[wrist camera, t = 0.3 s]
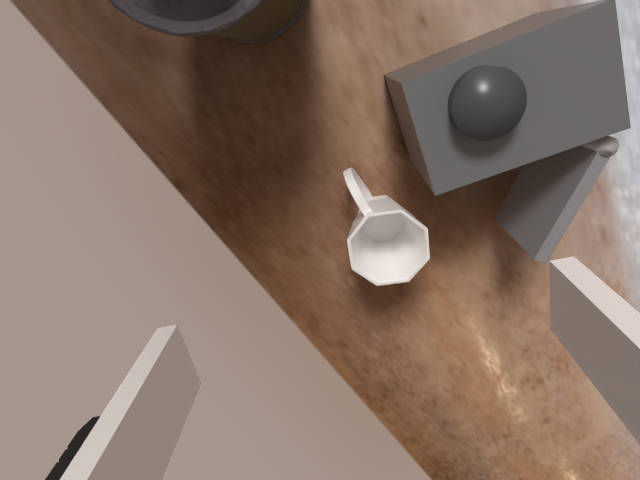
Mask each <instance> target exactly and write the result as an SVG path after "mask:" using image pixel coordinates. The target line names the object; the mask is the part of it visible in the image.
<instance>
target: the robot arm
mask: <svg viewBox="0 0 640 480" xmlns="http://www.w3.org/2000/svg"><path fill="white" fill-rule="evenodd" d="M550 313H551V330H552V332H553V333H554V334H555V335H556V337H557V338H558V339H559V341H560V342H561V343H562V344H563V346H564V347H565V348H566V350H567V351H568V352H569V353H570V355H571V356H572V357H573V359H574V360H575V361H576V363H577V364H578V365H579V366H580V368H581V369H582V370H583V372H584V373H585V374H586V375H587V377H588V378H589V379H590V381H591V382H592V383H593V384H594V386H595V387H596V388H597V390H598V391H599V392H600V393H601V395H602V396H603V397H604V399H605V400H606V401H607V402H608V404H609V405H610V406H611V408H612V409H613V410H614V411H615V413H616V414H617V415H618V417H619V418H620V419H621V421H622V422H623V423H624V424H625V426H626V427H627V428H628V430H629V431H630V432H631V433H632V435H633V436H634V437H635V439H636V440H637V441H638V442H639V444H640V313H639V312H638V311H636V310H635V309H634V308H633V307H632V306H631V305H629V304H628V303H627V302H626V301H625V300H624V299H622V298H621V297H620V296H619V295H618V294H617V293H615V292H614V291H613V290H612V289H611V288H610V287H608V286H607V285H606V284H605V283H604V282H603V281H601V280H600V279H599V278H598V277H597V276H596V275H594V274H593V273H592V272H591V271H590V270H589V269H588V268H586V267H585V266H584V265H583V264H582V263H581V262H579V261H578V260H577V259H576V258H575V257H569V258H563V259H557V260H551V261H550ZM200 384H201V383H200V380H199V377H198V375H197V372H196V370H195V368H194V365H193V363H192V360H191V358H190V355H189V353H188V350H187V348H186V345H185V343H184V340H183V338H182V335H181V333H180V331H179V328H178V325H172V326H166V327H160V328H157V330H156V331H155V333H154V334H153V336H152V338H151V339H150V340H149V342H148V344H147V345H146V347H145V348H144V350H143V351H142V353H141V354H140V356H139V358H138V359H137V361H136V362H135V364H134V365H133V367H132V368H131V370H130V372H129V373H128V375H127V376H126V378H125V379H124V381H123V382H122V384H121V386H120V387H119V388H118V390H117V392H116V393H115V395H114V396H113V398H112V399H111V401H110V402H109V404H108V406H107V407H106V409H105V410H104V412H103V413H102V415H101V416H98V417H93V418H92V419H91V420H90V421H89V422H88V423H87V424H85V425H84V426H83V427H82V428H81V429H80V430H79V431H78V432H77V434H76V435H75V437H74V438H73V440H72V441H71V442H70V444H69V445H68V449H67V450H65V451H64V453H63V454H62V456H61V457H60V459H59V462H57V463H56V465H55V466H54V467H53V469H52V470H51V472H50V473H49V475H48V476H47V478H46V479H45V480H162V478H163V475H164V473H165V471H166V468H167V466H168V463H169V461H170V458H171V456H172V453H173V451H174V448H175V446H176V444H177V441H178V438H179V436H180V434H181V431H182V429H183V426H184V424H185V421H186V419H187V416H188V414H189V412H190V409H191V407H192V404H193V401H194V399H195V397H196V394H197V392H198V389H199V387H200Z"/></svg>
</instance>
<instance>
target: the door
mask: <svg viewBox="0 0 640 480" xmlns="http://www.w3.org/2000/svg"><path fill="white" fill-rule="evenodd" d="M618 148H619V142H618V140H617V139H616V138H613V137H610V136H605V137H603V138H600V139H597V140H594V141H591V142H588V143H585V144H582V145H580V146H577V147H574V148H571V149H568V150H565V151H562V152H560V153H557V154H554V155H551V156H548V157H545V158H542V159H540V160H537V161H534V162H531V163H528V164H525V165H523V166H522V168H521V170H520V172H519V174H518V176H517V178H516V179H515V181H514V183H513V185H512V187H511V189H510V191H509V193H508V195H507V196H506V198H505V200H504V202H503V204H502V206H501V208H500V210H499V212H498V213H497V215H496V217H495V220H496V221H497V222H498V223H499V224H500V225H501V226H502V227H503V228H504V229H505V230H506V231H507V232H508V233H509V234H510V235H511V236H512V237H513V238H514V239H515V240H516V242H517V243H518V244H519V245H520V246H521V247H522V248H523V249H524V250H525V251H526V252H527V253H528V254H529V255H530V256H531V257H532V258H533V259H534V260H536V261H539V262H542V263H545V264H546V262H547V260H548V259H549V257H550V256H551V254H552V252H553V251H554V249H555V247H556V246H557V244H558V242H559V241H560V239H561V237H562V236H563V234H564V232H565V231H566V229H567V228H568V226H569V224H570V223H571V221H572V219H573V218H574V216H575V214H576V213H577V211H578V209H579V208H580V206H581V204H582V203H583V201H584V200H585V198H586V196H587V195H588V193H589V191H590V190H591V188H592V186H593V185H594V183H595V181H596V180H597V178H598V176H599V175H600V173H601V171H602V170H603V168H604V167H605V165H606V163H607V162H608V160H609V158H610V157H611V156H613V155H614V154H615V153H616V152H617V150H618Z"/></svg>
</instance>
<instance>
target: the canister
mask: <svg viewBox="0 0 640 480" xmlns="http://www.w3.org/2000/svg"><path fill="white" fill-rule="evenodd" d="M109 1H110V2H111V3H112V4H113V5H114V6H115V7H116V8H117V9H118V10H120V11H121V12H123V13H124V14H126V15H127V16H128V17H130V18H131V19H133V20H135V21H137V22H139V23H141V24H142V25H144V26H146V27H148V28H150V29H153V30H156V31H159V32H162V33H165V34H169V35H175V36H203V35H211V36H219V37H225V38H228V39H230V40H233V41H237V42H240V43H260V42H264V41H267V40H270V39H272V38H274V37H276V36H278V35H280V34H282V33H283V32H284V31H285V30H287V29H288V28H289V27H290V26H291V25H292V24H293V23H294V22H295V20H296V19H297V17H298V16H299V14H300V13H301V11H302V10H303V8H304V5H305V3H306V0H109Z"/></svg>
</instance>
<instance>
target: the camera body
mask: <svg viewBox="0 0 640 480" xmlns="http://www.w3.org/2000/svg"><path fill="white" fill-rule="evenodd" d="M384 77H385V80H386V83H387V87H388V90H389V93H390V96H391V99H392V102H393V106H394V109H395V112H396V115H397V118H398V121H399V125H400V128H401V131H402V134H403V137H404V141H405V144H406V147H407V150H408V153H409V156H410V160H411V162H412V163H413V164H414V166H415V167H416V169H417V170H418V172H419V173H420V174H421V176H422V177H423V179H424V180H425V182H426V183H427V185H428V186H429V187H430V189H431V190H432V192H433V193H434V195H435V196H437V195H439V194H442V193H445V192H448V191H451V190H454V189H457V188H459V187H462V186H465V185H468V184H471V183H474V182H477V181H479V180H482V179H485V178H488V177H491V176H494V175H497V174H499V173H502V172H505V171H508V170H511V169H514V168H517V167H520V166H522V165H525V164H528V163H531V162H534V161H537V160H540V159H542V158H545V157H548V156H551V155H554V154H557V153H560V152H562V151H565V150H568V149H571V148H574V147H577V146H580V145H582V144H585V143H588V142H591V141H594V140H597V139H600V138H603V137H605V136H608V135H611V134H614V133H617V132H620V131H623V130H625V129H628V128H630V119H629V111H628V103H627V95H626V86H625V78H624V70H623V62H622V53H621V45H620V37H619V28H618V20H617V12H616V4H615V0H601V1H596V2H591V3H586V4H580V5H575V6H570V7H565V8H560V9H555V10H550V11H545V12H540V13H536V14H533V15H531V16H528V17H526V18H523V19H521V20H518V21H516V22H513V23H511V24H508V25H506V26H504V27H501V28H499V29H496V30H494V31H491V32H489V33H486V34H484V35H481V36H479V37H476V38H474V39H472V40H469V41H467V42H464V43H462V44H459V45H457V46H454V47H452V48H449V49H447V50H444V51H442V52H440V53H437V54H435V55H432V56H430V57H427V58H425V59H422V60H420V61H417V62H415V63H412V64H410V65H408V66H405V67H403V68H400V69H398V70H395V71H393V72H390V73H388V74H385V75H384Z"/></svg>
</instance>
